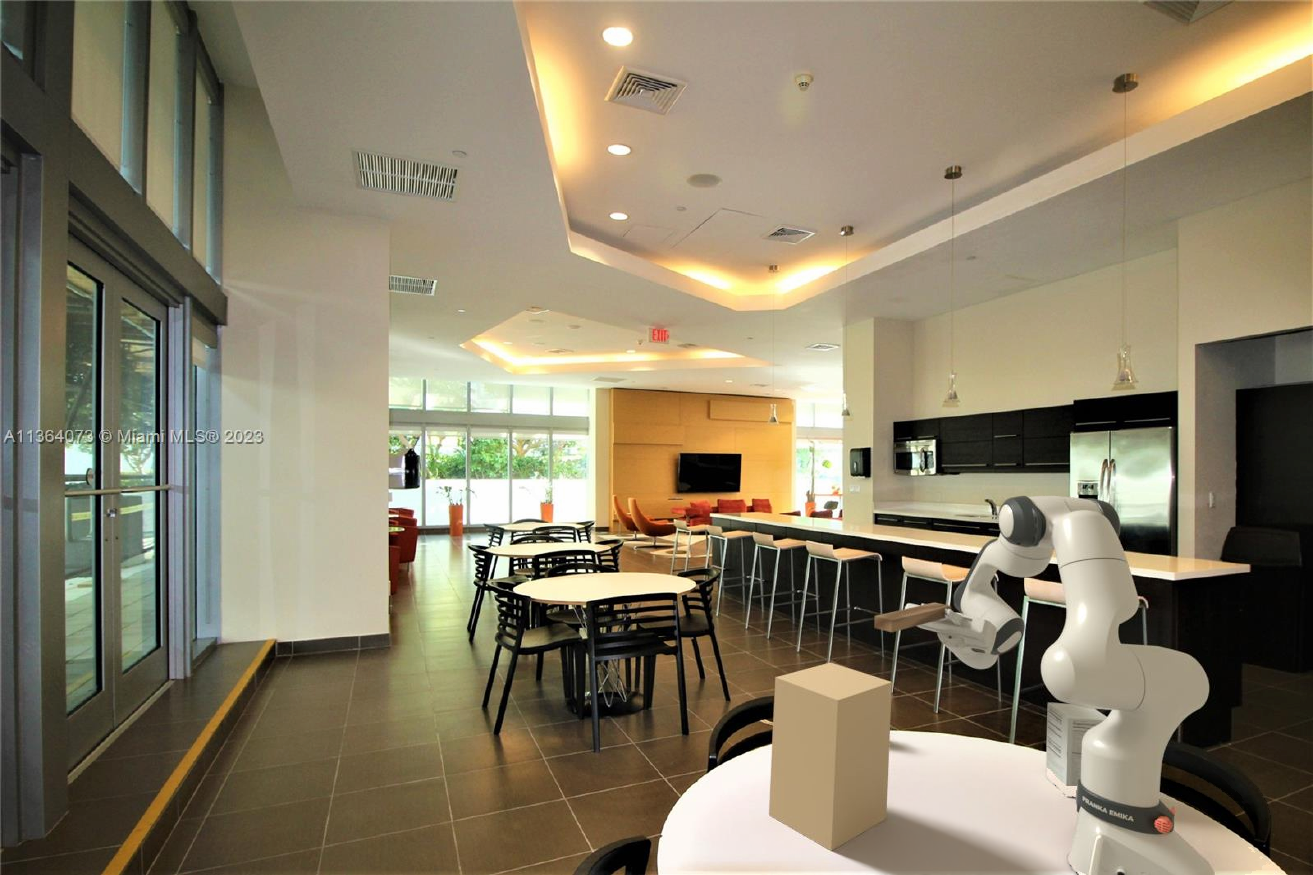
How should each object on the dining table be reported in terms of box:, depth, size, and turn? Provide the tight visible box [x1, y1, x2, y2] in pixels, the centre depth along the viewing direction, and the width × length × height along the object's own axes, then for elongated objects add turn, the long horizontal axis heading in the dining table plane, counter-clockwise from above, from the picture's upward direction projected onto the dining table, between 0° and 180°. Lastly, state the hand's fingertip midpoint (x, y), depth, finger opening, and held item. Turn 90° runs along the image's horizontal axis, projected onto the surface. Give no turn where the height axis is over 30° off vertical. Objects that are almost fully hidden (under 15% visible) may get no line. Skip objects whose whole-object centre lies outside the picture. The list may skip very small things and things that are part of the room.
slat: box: [873, 602, 952, 633], centre depth 146 cm, size 4×26×2 cm, turn 130°
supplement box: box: [1045, 702, 1108, 786], centre depth 143 cm, size 10×9×17 cm
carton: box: [768, 662, 893, 852], centre depth 126 cm, size 14×18×26 cm
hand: (934, 609), depth 152 cm, fingers closed on slat, 4 cm apart
